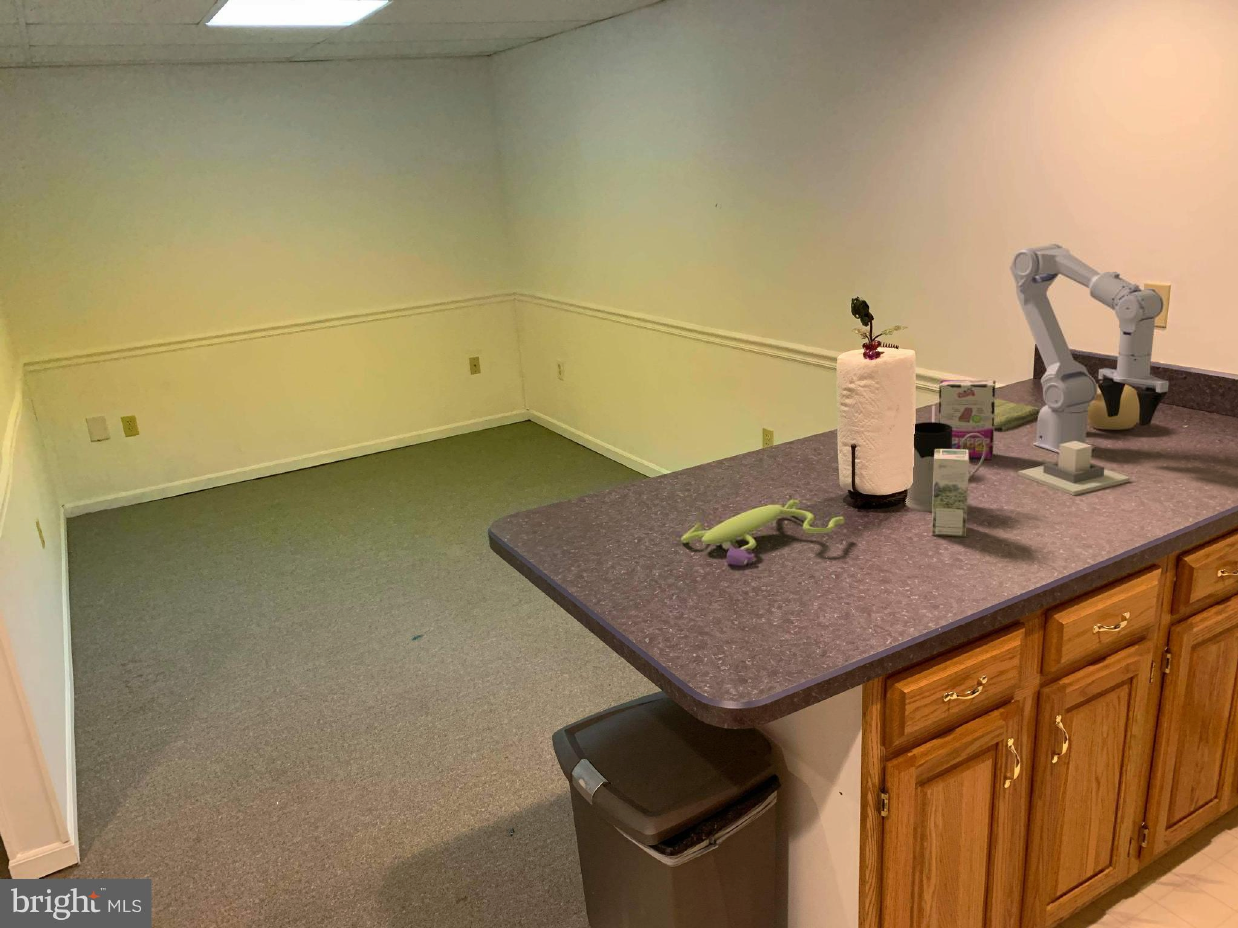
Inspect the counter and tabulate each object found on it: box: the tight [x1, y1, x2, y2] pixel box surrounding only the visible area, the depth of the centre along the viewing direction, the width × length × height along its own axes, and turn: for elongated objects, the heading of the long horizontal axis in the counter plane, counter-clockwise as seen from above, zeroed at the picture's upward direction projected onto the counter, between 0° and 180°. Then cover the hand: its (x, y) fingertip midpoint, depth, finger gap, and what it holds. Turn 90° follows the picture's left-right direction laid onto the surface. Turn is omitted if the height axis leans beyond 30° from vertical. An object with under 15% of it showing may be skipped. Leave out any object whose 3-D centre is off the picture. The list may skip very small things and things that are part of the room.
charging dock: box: [1017, 460, 1131, 496], centre depth 184 cm, size 14×14×3 cm
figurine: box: [680, 499, 845, 567], centre depth 166 cm, size 18×27×6 cm
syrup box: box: [931, 449, 970, 538], centre depth 163 cm, size 6×6×14 cm
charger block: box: [1058, 441, 1093, 472], centre depth 183 cm, size 4×4×6 cm
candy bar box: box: [938, 379, 996, 460], centre depth 200 cm, size 11×5×16 cm, turn 68°
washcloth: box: [994, 398, 1041, 432], centre depth 225 cm, size 13×18×3 cm
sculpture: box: [1087, 380, 1140, 431], centre depth 211 cm, size 12×12×11 cm
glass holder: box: [904, 421, 987, 513], centre depth 175 cm, size 9×14×15 cm, turn 78°
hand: (1128, 420), depth 186 cm, fingers open, 7 cm apart
